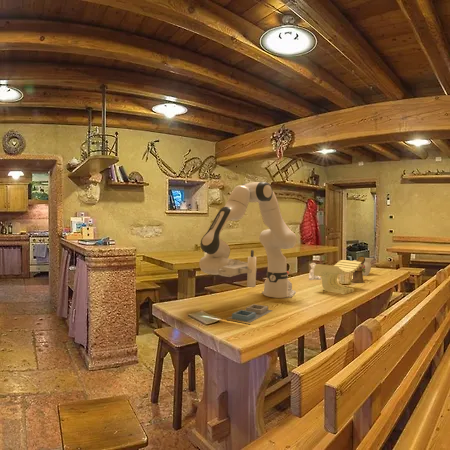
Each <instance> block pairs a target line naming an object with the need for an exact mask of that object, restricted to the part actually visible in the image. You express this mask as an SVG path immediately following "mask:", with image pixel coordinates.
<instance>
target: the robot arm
mask: <svg viewBox="0 0 450 450" xmlns="http://www.w3.org/2000/svg"><path fill="white" fill-rule="evenodd" d="M249 203H258V206H259V207H258V208H259V211H260V214H261V218H262V222H263V224H264V226H266V227H267V229H263V230H262V231H261V232H260V234H259V243H260V244H261V245H262V246H263V248H264V250H265V253H266V257H267V271H266V279H265V280H264V284H263V285H264V286H263V290H262V291H261V294H263V295H264V296H265V297H269V298H275V299H276V298H277V299H278V298H279V299H280V298H281V299H282V298H292V297H293V296H294V295H295V294H296V292H297V291H296V290H294V289H293V283H292V282H291V281H290V280H289V277H288V276H289V274H290V272H289V271H288V270H287V269H288V268H287V267H288V266H287V261H288V260H287V257H286V256H285V255H284V254H283V252H282V249H283V250H287V249H293V248H294V247H295V246H296V244H297V242H298V237H297V234H296V233H295V232H294V231H292V230H291V229H290V228H289V226H288V225H287V223H286V222H285V220H284V218H283V216H282V212H281V209H280V205H279V202H278V199H277V196H276V194H275V192H274V191H273V187H272V185H271V184H270V183H269V182H267V181H253V182H248V183H243V184H239V185H236V186H235V187H234V188H233V190H231V193H230V194H229V196H228V198H227V201H226V203H225V205H224V206H223V207H222V208H220V209H219V210H218V212H217V213H216V215H215V217H214V219H213V221H212V223H211V224H210V225H209V228H208V229H207V231H206V232H205V234H204V235H203V237H202V238H201V240H200V249H201V250H202V251H203V252H204V253H206V254H205V255H204V256H202V257H201V258H200V259H199V263H198V265H199V268H200V270H201V272H203V273H204V274H208V275H212V276H220V277H228V278H231V277H235V276H239V275H241V274H247V273H251V269H248V261H247V262H246V261H242V260H240V259H233V258H229V257H230V254H231V247H230V245H228V243H226V242H225V241H224V240H223V239H222V238H221V236H220V235H221V232H222V231H223V229H224V227H225V225H226V224H227V222H228V221H232V222H236V221H239V220H241V219H242V218H243V217H244V215H245V213H246V212H247V210H248V209H247V208H248V205H249ZM257 270H258V269H257V267H256V272H257Z"/></svg>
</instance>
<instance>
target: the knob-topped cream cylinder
mask: <svg viewBox="0 0 450 450" xmlns="http://www.w3.org/2000/svg"><path fill="white" fill-rule="evenodd" d="M254 253H255V252H254V250H253V249H251V250H250V256H247V262H248V269H251V273H246V274H247V275H246V276H247V277H246V278H247V279H246V280H247V281H246V287H248V288H255V287H257V286H256V284H257V281H256V280H257V271H256V268H257V256H255V254H254Z"/></svg>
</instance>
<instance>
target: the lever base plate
mask: <svg viewBox="0 0 450 450" xmlns="http://www.w3.org/2000/svg"><path fill="white" fill-rule="evenodd" d="M273 311H274V310H273V309H272V310H271V309H269V306H266V305H261V304H255V303H253V304H251V305H249V306H246V307H245V309H240V310H237V311H235V312H233V313H231V316H228V317H227V318H226V320H225V321H227V322H232V323H239V324H244V325H249V326H250V325H252V324H250V323H252V322H254V321H256V320H257V319H260V318H262V317H263V316H265V315H268V314H269V313H272V312H273Z"/></svg>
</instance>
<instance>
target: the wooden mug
mask: <svg viewBox="0 0 450 450" xmlns="http://www.w3.org/2000/svg"><path fill="white" fill-rule="evenodd" d="M365 258H366V257H364V256H363V255H360V256H358V257H357V258H356V260H357V262H361V264H363V263H364V262H365ZM351 283H354V284H364V283H365V282H364V275H363V274H362V267H361V266H360V267H359V268H357V270H355V272H353V279H352V282H351Z"/></svg>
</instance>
